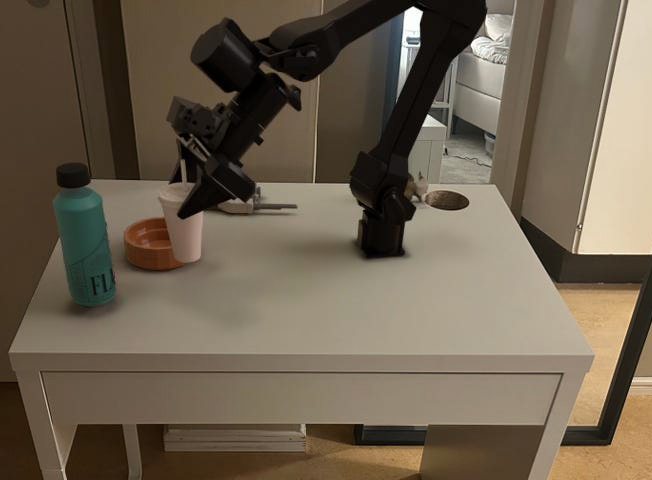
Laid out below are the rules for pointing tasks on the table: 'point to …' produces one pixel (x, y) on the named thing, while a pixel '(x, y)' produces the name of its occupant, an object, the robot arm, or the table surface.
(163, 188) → the smoothie
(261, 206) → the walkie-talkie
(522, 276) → the table surface
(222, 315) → the table surface
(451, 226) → the table surface
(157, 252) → the bowl
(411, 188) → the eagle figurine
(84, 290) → the beverage bottle
